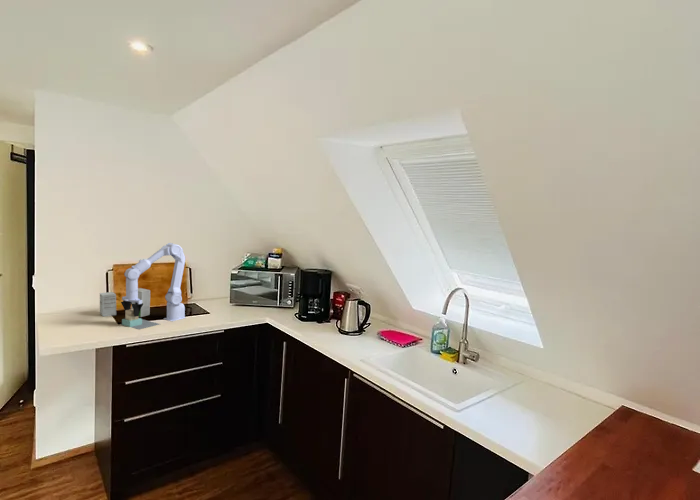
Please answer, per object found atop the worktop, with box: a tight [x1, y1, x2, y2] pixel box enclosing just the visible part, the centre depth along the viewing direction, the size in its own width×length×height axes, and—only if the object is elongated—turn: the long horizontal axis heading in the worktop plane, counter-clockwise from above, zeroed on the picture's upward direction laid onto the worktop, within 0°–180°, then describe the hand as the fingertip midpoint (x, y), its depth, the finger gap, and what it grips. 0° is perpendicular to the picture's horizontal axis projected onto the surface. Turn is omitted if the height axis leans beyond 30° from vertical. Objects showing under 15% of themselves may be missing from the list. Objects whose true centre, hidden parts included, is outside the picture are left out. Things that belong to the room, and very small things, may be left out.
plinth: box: [121, 317, 143, 328], centre depth 230 cm, size 7×7×3 cm
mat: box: [120, 318, 161, 330], centre depth 231 cm, size 13×16×1 cm
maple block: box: [124, 309, 139, 321], centre depth 229 cm, size 4×4×5 cm
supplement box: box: [99, 291, 117, 317], centre depth 248 cm, size 7×7×13 cm
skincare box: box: [131, 287, 151, 318], centre depth 249 cm, size 8×7×16 cm
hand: (132, 315), depth 230 cm, fingers open, 7 cm apart
